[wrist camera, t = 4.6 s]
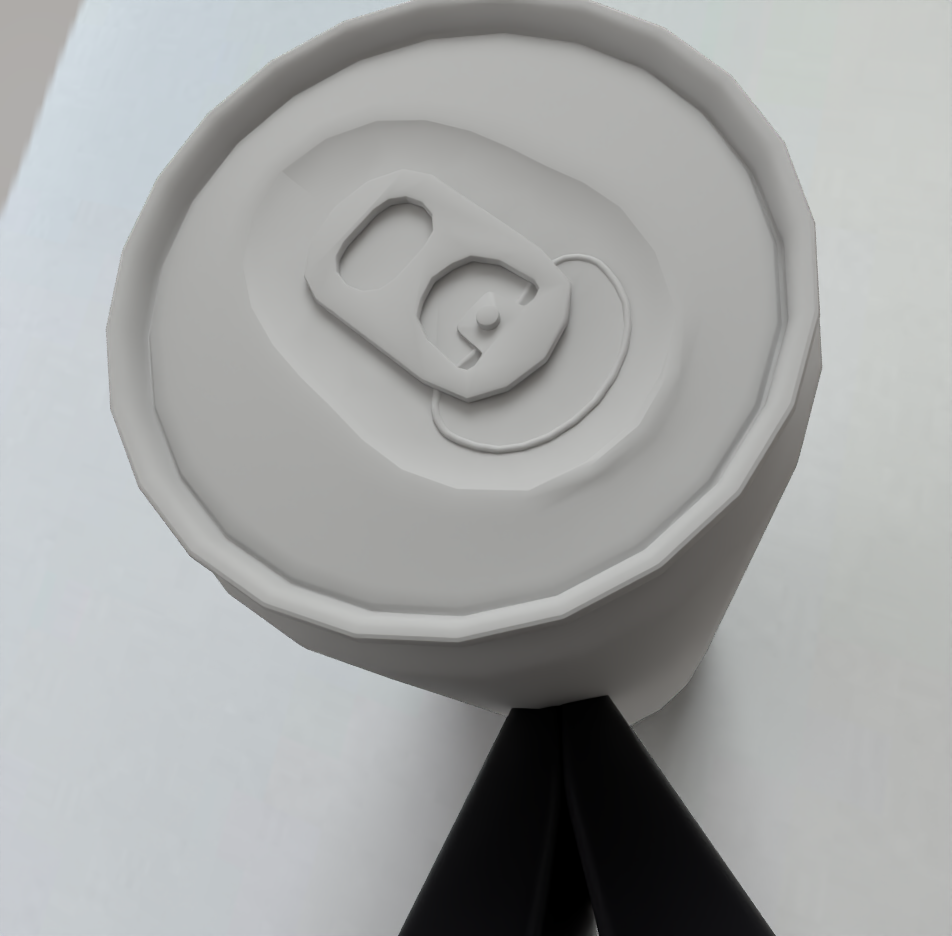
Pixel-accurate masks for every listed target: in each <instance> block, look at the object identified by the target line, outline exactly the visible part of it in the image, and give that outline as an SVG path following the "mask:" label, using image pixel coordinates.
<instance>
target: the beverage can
mask: <svg viewBox="0 0 952 936" xmlns="http://www.w3.org/2000/svg"><path fill="white" fill-rule="evenodd" d="M819 318H820V306H819V287H818V269H817V250H816V231H815V221H814V219H813V216H812V214H811V211H810V208H809V206H808V203H807V200H806V198H805V195H804V192H803V190H802V187H801V184H800V182H799V179H798V176H797V174H796V171H795V168H794V166H793V163H792V160H791V158H790V155H789V153H788V150H787V147H786V145H785V142H784V141H783V139H782V138H781V137H780V136H779V134H778V133H777V132H776V131H775V129H774V128H773V127H772V126H771V124H770V123H769V122H768V121H767V119H766V118H765V117H764V115H763V114H762V113H761V112H760V110H759V109H758V108H757V107H756V105H755V104H754V103H753V102H752V100H751V99H750V98H749V97H748V95H747V94H746V93H745V92H744V90H743V89H742V88H741V86H740V85H739V84H738V83H737V81H736V80H735V79H734V78H733V76H732V75H730V74H729V73H728V72H726V71H725V70H723V69H722V68H721V67H719V66H718V65H716V64H715V63H714V62H712V61H711V60H709V59H708V58H707V57H705V56H704V55H702V54H701V53H700V52H698V51H697V50H695V49H694V48H693V47H691V46H690V45H688V44H687V43H686V42H684V41H683V40H681V39H680V38H679V37H677V36H676V35H674V34H673V33H672V32H670V31H669V30H667V29H666V28H664V27H662V26H659V25H656V24H654V23H651V22H648V21H646V20H643V19H640V18H637V17H635V16H632V15H629V14H627V13H624V12H621V11H619V10H616V9H613V8H611V7H608V6H605V5H602V4H600V3H597V2H594V1H592V0H411V1H408V2H404V3H401V4H398V5H395V6H391V7H388V8H385V9H382V10H378V11H375V12H372V13H369V14H365V15H362V16H359V17H355V18H352V19H349V20H346V21H343V22H341V23H339V24H337V25H336V26H334V27H332V28H330V29H328V30H326V31H325V32H323V33H321V34H319V35H317V36H315V37H314V38H312V39H310V40H308V41H306V42H304V43H303V44H301V45H299V46H297V47H295V48H293V49H292V50H290V51H288V52H286V53H284V54H282V55H281V56H279V57H277V58H275V59H273V60H271V61H270V62H269V63H268V64H266V65H265V66H264V67H263V68H262V69H260V70H259V71H258V72H257V73H256V74H254V75H253V76H252V77H251V78H250V79H248V80H247V81H246V82H245V83H244V84H242V85H241V86H240V87H239V88H238V89H236V90H235V91H234V92H233V93H232V94H230V95H229V96H228V97H227V98H226V99H224V100H223V101H222V102H221V103H220V104H218V105H217V106H216V107H215V108H214V109H212V110H211V111H210V112H209V113H208V114H207V115H206V116H205V117H204V119H203V120H202V121H201V122H200V124H199V125H198V126H197V128H196V129H195V130H194V131H193V133H192V134H191V135H190V136H189V138H188V139H187V140H186V142H185V143H184V144H183V145H182V147H181V148H180V149H179V150H178V152H177V153H176V154H175V156H174V157H173V158H172V159H171V161H170V162H169V163H168V164H167V166H166V167H165V168H164V170H163V171H162V172H161V173H160V175H159V176H158V177H157V179H156V181H155V183H154V185H153V187H152V189H151V191H150V194H149V196H148V198H147V200H146V202H145V204H144V206H143V208H142V210H141V212H140V214H139V216H138V218H137V221H136V223H135V225H134V227H133V229H132V231H131V233H130V235H129V237H128V239H127V241H126V243H125V245H124V248H123V250H122V254H121V259H120V263H119V268H118V273H117V278H116V283H115V288H114V292H113V297H112V302H111V307H110V312H109V317H108V321H107V326H106V337H107V355H108V374H109V392H110V409H111V412H112V415H113V418H114V421H115V423H116V426H117V429H118V432H119V434H120V437H121V440H122V443H123V446H124V448H125V451H126V454H127V457H128V459H129V462H130V465H131V468H132V470H133V473H134V476H135V479H136V482H137V484H138V487H139V489H140V490H141V491H142V493H143V494H144V495H145V497H146V498H147V499H148V501H149V502H150V503H151V505H152V506H153V507H154V509H155V510H156V511H157V513H158V514H159V515H160V517H161V518H162V519H163V521H164V522H165V523H166V525H167V526H168V527H169V529H170V530H171V531H172V533H173V534H174V535H175V537H176V538H177V539H178V541H179V542H180V543H181V545H182V546H183V548H184V549H185V550H186V552H187V553H188V554H189V556H190V557H192V558H193V559H194V560H196V561H197V562H199V563H200V564H201V565H203V566H204V567H206V568H207V569H208V570H210V571H211V572H213V574H214V575H215V576H216V578H217V579H218V580H219V582H220V583H221V584H222V586H223V587H224V588H225V590H226V591H227V592H228V594H230V595H231V596H232V597H234V598H235V599H237V600H238V601H239V602H241V603H242V604H244V605H245V606H246V607H248V608H249V609H251V610H252V611H253V612H255V613H256V614H257V615H259V616H260V617H262V618H263V619H264V620H266V621H267V622H269V623H270V624H271V625H273V626H274V627H275V628H277V629H278V630H280V631H281V632H282V633H284V634H285V635H287V636H288V637H289V638H291V639H292V640H294V641H295V642H296V643H298V644H299V645H301V646H303V647H304V648H306V649H308V650H311V651H314V652H317V653H320V654H323V655H325V656H328V657H331V658H334V659H337V660H340V661H342V662H345V663H348V664H351V665H354V666H357V667H359V668H362V669H365V670H368V671H371V672H374V673H376V674H379V675H382V676H385V677H388V678H391V679H394V680H397V681H400V682H403V683H406V684H409V685H412V686H415V687H418V688H421V689H424V690H427V691H431V692H434V693H437V694H440V695H443V696H446V697H449V698H452V699H455V700H458V701H461V702H464V703H468V704H471V705H474V706H477V707H480V708H483V709H486V710H489V711H492V712H495V713H498V714H501V715H504V716H508V714H509V712H510V710H511V708H530V709H541V708H546V707H551V706H560V705H562V704H566V703H570V702H575V701H580V700H585V699H590V698H595V697H599V696H605V695H609V697H610V698H611V700H612V701H613V703H614V704H615V705H616V707H617V708H618V710H619V711H620V713H621V714H622V716H623V717H624V718H625V720H626V721H627V723H628V724H629V726H630V725H632V724H634V723H636V722H638V721H640V720H642V719H644V718H645V717H647V716H649V715H651V714H653V713H655V712H657V711H659V710H661V709H662V708H663V707H664V706H665V705H666V704H667V703H668V702H669V701H670V700H671V699H672V698H673V697H674V696H675V695H677V694H678V693H679V692H680V691H681V690H682V689H683V688H684V687H685V686H686V685H687V684H688V682H689V681H690V679H691V677H692V676H693V674H694V672H695V670H696V669H697V667H698V665H699V664H700V662H701V660H702V659H703V657H704V655H705V654H706V652H707V650H708V648H709V645H710V643H711V641H712V639H713V637H714V635H715V633H716V631H717V629H718V627H719V625H720V623H721V621H722V619H723V617H724V614H725V612H726V610H727V608H728V606H729V604H730V602H731V600H732V598H733V596H734V594H735V592H736V590H737V588H738V586H739V583H740V581H741V579H742V577H743V575H744V573H745V571H746V569H747V567H748V565H749V563H750V561H751V559H752V557H753V555H754V553H755V550H756V548H757V546H758V544H759V542H760V540H761V538H762V536H763V534H764V532H765V530H766V528H767V526H768V524H769V522H770V519H771V517H772V515H773V513H774V511H775V509H776V507H777V505H778V503H779V501H780V499H781V497H782V495H783V493H784V491H785V488H786V486H787V484H788V482H789V480H790V478H791V476H792V474H793V472H794V470H795V468H796V466H797V463H798V459H799V456H800V452H801V448H802V444H803V440H804V437H805V433H806V429H807V425H808V421H809V417H810V413H811V409H812V405H813V402H814V398H815V394H816V390H817V386H818V382H819V378H820V374H821V370H822V355H821V337H820V319H819Z"/></svg>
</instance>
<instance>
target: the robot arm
mask: <svg viewBox="0 0 952 936" xmlns="http://www.w3.org/2000/svg"><path fill="white" fill-rule="evenodd" d="M596 925H597V929H598V933H599V936H776V935H775V934H774V933H773V931H772V930H771V928H770V927H769V925H768V924H767V923H766V921H765V920H764V918H763V917H762V915H761V914H760V912H759V911H758V910H757V908H756V907H755V905H754V904H753V902H752V901H751V900H750V898H749V897H748V895H747V894H746V892H745V891H744V889H743V888H742V887H741V885H740V884H739V882H738V881H737V879H736V878H735V877H734V875H733V874H732V872H731V871H730V869H729V868H728V866H727V865H726V864H725V862H724V861H723V859H722V858H721V856H720V855H719V854H718V852H717V851H716V849H715V848H714V846H713V845H712V843H711V842H710V841H709V839H708V838H707V836H706V835H705V833H704V832H703V831H702V829H701V828H700V826H699V825H698V823H697V822H696V820H695V819H694V818H693V816H692V815H691V813H690V812H689V810H688V809H687V808H686V806H685V805H684V803H683V802H682V800H681V799H680V797H679V796H678V795H677V793H676V792H675V790H674V789H673V787H672V786H671V785H670V783H669V782H668V780H667V779H666V777H665V776H664V774H663V773H662V772H661V770H660V769H659V767H658V766H657V764H656V763H655V762H654V760H653V759H652V757H651V756H650V754H649V753H648V751H647V750H646V749H645V747H644V746H643V744H642V743H641V741H640V740H639V739H638V737H637V736H636V734H635V733H634V731H633V730H632V728H631V727H630V726H629V724H628V723H627V721H626V720H625V718H624V717H623V716H622V714H621V713H620V711H619V710H618V708H617V707H616V705H615V704H614V703H613V701H612V700H611V698H610V697H609V695H605V696H599V697H595V698H590V699H585V700H580V701H575V702H570V703H566V704H562V705H560V706H551V707H546V708H541V709H530V708H511V710H510V712H509V714H508V716H507V718H506V720H505V722H504V724H503V726H502V728H501V730H500V732H499V734H498V736H497V738H496V740H495V742H494V744H493V746H492V748H491V750H490V752H489V754H488V756H487V758H486V760H485V762H484V765H483V767H482V769H481V771H480V773H479V775H478V777H477V779H476V781H475V783H474V785H473V787H472V789H471V791H470V793H469V795H468V797H467V799H466V801H465V803H464V805H463V807H462V809H461V811H460V813H459V815H458V817H457V819H456V821H455V823H454V825H453V827H452V829H451V831H450V833H449V835H448V837H447V839H446V841H445V843H444V845H443V847H442V849H441V851H440V853H439V855H438V857H437V859H436V861H435V863H434V865H433V867H432V869H431V871H430V873H429V875H428V877H427V879H426V881H425V883H424V885H423V887H422V889H421V891H420V893H419V895H418V897H417V899H416V901H415V903H414V905H413V907H412V909H411V911H410V913H409V915H408V917H407V919H406V921H405V923H404V925H403V927H402V929H401V931H400V933H399V935H398V936H597V930H596Z"/></svg>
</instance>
